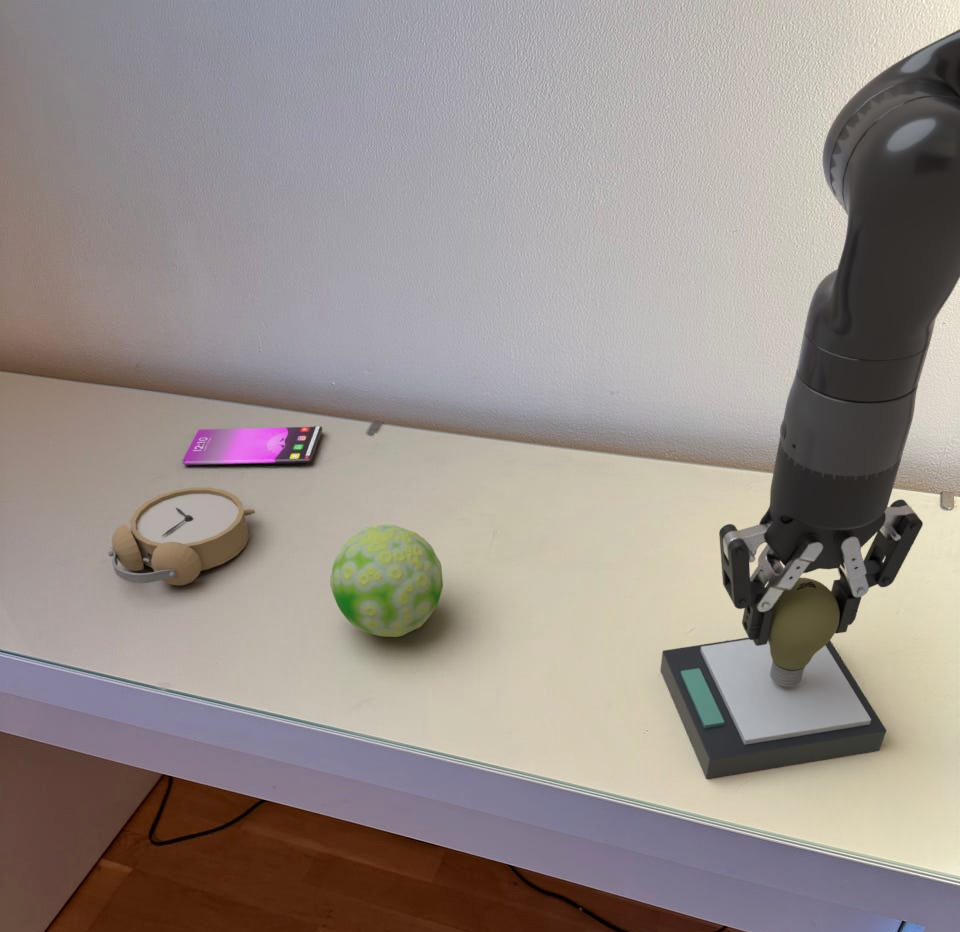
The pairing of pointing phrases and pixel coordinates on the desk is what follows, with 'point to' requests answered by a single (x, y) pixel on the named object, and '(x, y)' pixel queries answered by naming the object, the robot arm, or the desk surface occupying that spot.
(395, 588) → the decorative ball
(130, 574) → the alarm clock
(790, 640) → the light bulb
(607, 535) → the desk surface
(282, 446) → the smartphone
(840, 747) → the scale
